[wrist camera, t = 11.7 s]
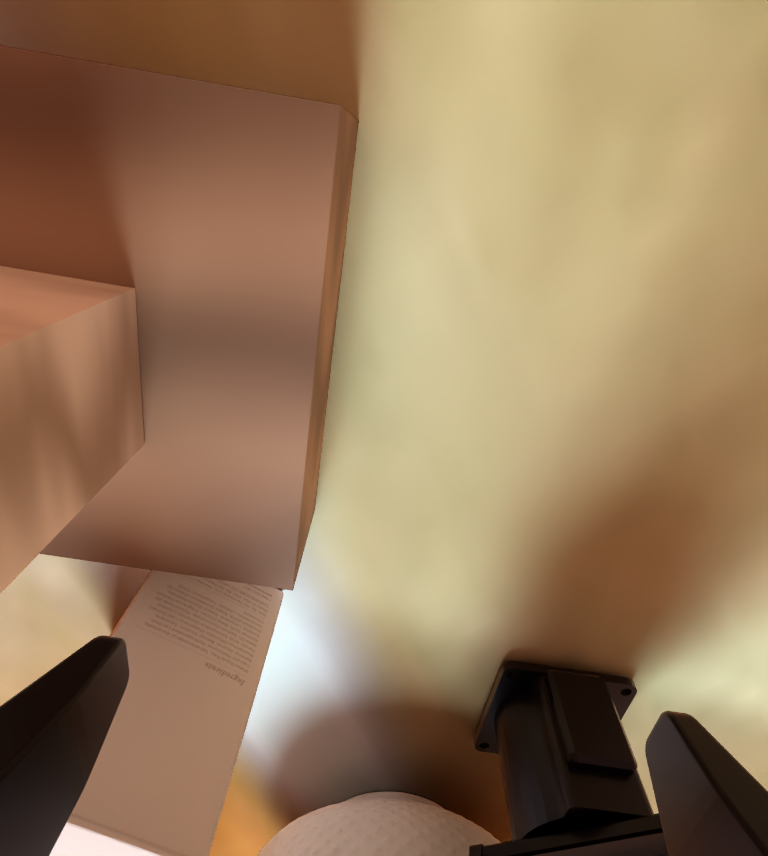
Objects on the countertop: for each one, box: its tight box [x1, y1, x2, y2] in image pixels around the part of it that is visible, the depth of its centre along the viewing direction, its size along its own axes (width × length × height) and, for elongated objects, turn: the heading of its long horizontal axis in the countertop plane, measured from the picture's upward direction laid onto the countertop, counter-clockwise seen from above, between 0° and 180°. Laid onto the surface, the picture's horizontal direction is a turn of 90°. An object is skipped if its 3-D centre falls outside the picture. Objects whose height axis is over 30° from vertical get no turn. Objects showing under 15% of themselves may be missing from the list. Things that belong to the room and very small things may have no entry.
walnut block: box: [0, 45, 359, 590], centre depth 16 cm, size 14×14×5 cm
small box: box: [49, 570, 283, 856], centre depth 20 cm, size 8×6×10 cm
